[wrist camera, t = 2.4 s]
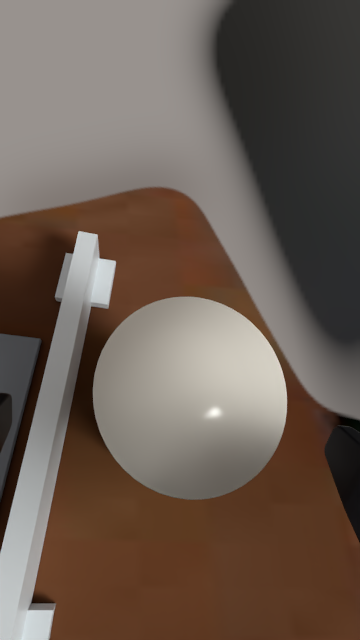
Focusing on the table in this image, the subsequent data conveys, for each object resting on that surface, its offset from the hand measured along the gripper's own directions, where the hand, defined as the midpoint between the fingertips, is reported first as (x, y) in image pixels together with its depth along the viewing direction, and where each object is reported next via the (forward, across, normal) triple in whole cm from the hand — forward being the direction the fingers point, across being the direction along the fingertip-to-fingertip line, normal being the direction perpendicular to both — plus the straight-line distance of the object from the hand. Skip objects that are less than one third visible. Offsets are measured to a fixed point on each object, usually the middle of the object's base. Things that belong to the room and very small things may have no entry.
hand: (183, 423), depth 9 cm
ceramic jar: (+7, 0, +6) cm, 9 cm away
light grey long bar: (+6, +5, +6) cm, 10 cm away
